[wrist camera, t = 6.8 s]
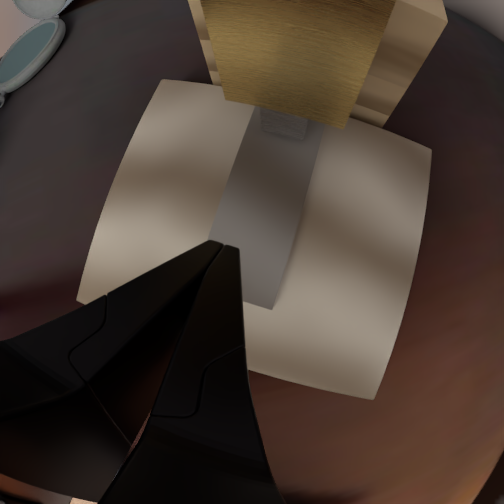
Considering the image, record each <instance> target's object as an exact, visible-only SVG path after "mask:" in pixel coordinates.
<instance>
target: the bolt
mask: <svg viewBox="0 0 504 504" xmlns="http://www.w3.org/2000/svg"><path fill="white" fill-rule="evenodd" d="M395 2H396V0H200V3H201V6H202V10H203V14H204V18H205V22H206V26H207V30H208V33H209V37H210V41H211V45H212V49H213V53H214V57H215V61H216V65H217V69H218V73H219V77H220V81H221V85H222V89H223V93H224V97H225V100H227V101H233V102H238V103H243V104H248V105H253V106H258V107H260V116H261V130H263V131H267V132H271V133H275V134H279V135H283V136H287V137H291V138H294V139H298V140H302V141H303V140H304V136H305V133H306V129H307V126H308V122H309V119H310V120H313V121H317V122H320V123H324V124H327V125H330V126H333V127H337V128H340V129H344V127H345V125H346V123H347V120H348V118H349V116H350V113H351V111H352V109H353V106H354V104H355V102H356V99H357V97H358V94H359V92H360V90H361V87H362V85H363V83H364V80H365V78H366V75H367V73H368V71H369V68H370V66H371V63H372V61H373V58H374V56H375V53H376V51H377V48H378V46H379V43H380V41H381V38H382V36H383V33H384V31H385V28H386V26H387V23H388V20H389V18H390V15H391V13H392V10H393V7H394V5H395Z"/></svg>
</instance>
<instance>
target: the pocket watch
mask: <svg viewBox="0 0 504 504" xmlns="http://www.w3.org/2000/svg"><path fill="white" fill-rule="evenodd" d="M66 1H67V0H13V2H14V4H15V5H16V7H17V8H18V9H19V10H20V11H21V12H22V13H23V14H25V15H27V16H28V17H31V18H34V19H44V20H41V21H40V22H39V23H38V24H36V25H35V26H33V27H32V28H30V29H29V30H28V31H26V32H25V33H24V34H23V35H22V36H20V37H19V38H18V39H17V40H16V42H15V43H14V44H13V45H12V46H11V47H10V48H9V50H8V51H7V52H6V53H5V55H4V56H3V58H2V59H1V61H0V93H1V95H0V108H1V107H2V105H3V104H4V100H5V98H4V95H5V94H6V93H10V92H12V91H14V90H16V89H17V88H19V87H21V86H22V85H24V84H25V83H26V82H28V81H29V80H30V79H31V78H32V77H34V76H35V75H36V74H37V73H38V72H39V71H40V70H41V69H42V68H43V67H44V66H45V64H46V63H47V62H48V61H49V60H50V58H51V57H52V56H53V54H54V53H55V52H56V50H57V49H58V47H59V45H60V44H61V42H62V40H63V38H64V35H65V31H66V28H65V23H64V22H63V21H62V20H61V19H59V15H55V14H56V13H58V12H59V11H60V10H61V9H62V7H63V6H64V4H65V2H66ZM54 15H55V16H54ZM1 103H2V104H1Z"/></svg>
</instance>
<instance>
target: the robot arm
mask: <svg viewBox="0 0 504 504" xmlns="http://www.w3.org/2000/svg"><path fill="white" fill-rule="evenodd" d="M245 347H246V343H245V327H244V311H243V295H242V278H241V260H240V249H239V248H237V247H234V246H231V245H227V244H226V245H224V244H223V243H221V242H218V241H214V240H207V241H205V242H203V243H201V244H199V245H197V246H195V247H193V248H192V249H190V250H188V251H186V252H184V253H182V254H180V255H178V256H176V257H174V258H172V259H170V260H168V261H166V262H164V263H163V264H161V265H159V266H157V267H155V268H153V269H151V270H149V271H147V272H145V273H144V274H142V275H140V276H138V277H136V278H134V279H132V280H130V281H129V282H127V283H125V284H123V285H121V286H119V287H117V288H116V289H114V290H112V291H110V292H108V293H107V295H103V296H101V297H99V298H97V299H95V300H93V301H92V302H90V303H88V304H86V305H84V306H82V307H80V308H78V309H76V310H74V311H72V312H70V313H68V314H65V315H63V316H61V317H59V318H57V319H55V320H52V321H50V322H48V323H45V324H43V325H41V326H39V327H36V328H34V329H32V330H29V331H27V332H25V333H23V334H20V335H18V336H16V337H13V338H11V339H7V340H4V341H0V504H70V502H71V500H72V498H73V497H74V498H78V499H82V500H87V501H92V502H97V503H98V504H286V502H285V500H284V498H283V497H282V495H281V493H280V491H279V489H278V487H277V485H276V483H275V481H274V478H273V476H272V473H271V470H270V467H269V464H268V461H267V457H266V454H265V450H264V446H263V442H262V438H261V434H260V430H259V426H258V422H257V417H256V413H255V409H254V405H253V400H252V395H251V389H250V384H249V376H248V367H247V356H246V348H245ZM151 409H152V410H151ZM150 411H151V413H150ZM149 413H150V417H149V419H148V421H147V424H146V426H145V429H144V431H143V433H142V435H141V437H140V440H139V441H138V443H137V445H136V446H135V448H134V449H133V451H132V452H131V454H130V455H129V457H128V458H127V460H126V461H125V463H124V464H123V466H122V467H121V469H120V470H119V468H120V466H121V464H122V462H123V460H124V459H125V457H126V455H127V453H128V451H129V449H130V448H131V446H130V445H132V444H133V442H134V440H135V438H136V436H137V434H138V433H139V431H140V429H141V427H142V425H143V423H144V422H145V420H146V418H147V416H148V414H149ZM118 470H119V472H118V473H117V471H118ZM116 473H117V475H116ZM115 475H116V476H115ZM114 477H115V478H114ZM113 479H114V480H113Z"/></svg>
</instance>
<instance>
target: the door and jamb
mask: <svg viewBox="0 0 504 504" xmlns="http://www.w3.org/2000/svg"><path fill="white" fill-rule="evenodd" d="M188 2H189V5H190V9H191V12H192V15H193V19H194V22H195V25H196V29H197V32H198V36H199V39H200V42H201V46H202V49H203V52H204V56H205V59H206V63H207V66H208V69H209V73H210V76H211V80H212V83H213V85H210V84H202V83H195V82H186V81H177V80H166V79H162V80H161V82H160V84H159V86H158V88H157V89H156V91H155V93H154V95H153V97H152V99H151V101H150V103H149V104H148V106H147V108H146V110H145V112H144V114H143V116H142V118H141V120H140V122H139V124H138V126H137V128H136V131H135V133H134V135H133V137H132V139H131V141H130V143H129V146H128V148H127V150H126V152H125V155H124V157H123V159H122V162H121V164H120V166H119V169H118V171H117V174H116V176H115V179H114V181H113V184H112V186H111V189H110V191H109V194H108V197H107V200H106V202H105V205H104V208H103V211H102V213H101V216H100V219H99V222H98V225H97V228H96V231H95V234H94V238H93V241H92V244H91V247H90V251H89V254H88V258H87V261H86V265H85V268H84V272H83V276H82V280H81V284H80V288H79V292H78V296H77V301H79V302H81V303H83V304H85V305H86V304H88V303H90V302H92V301H93V300H95V299H97V298H99V297H101V296H103V295H107V293H108V292H110V291H112V290H114V289H116V288H117V287H119V286H121V285H123V284H125V283H127V282H129V281H130V280H132V279H134V278H136V277H138V276H140V275H142V274H144V273H145V272H147V271H149V270H151V269H153V268H155V267H157V266H159V265H161V264H163V263H164V262H166V261H168V260H170V259H172V258H174V257H176V256H178V255H180V254H182V253H184V252H186V251H188V250H190V249H192V248H193V247H195V246H197V245H199V244H201V243H203V242H205V241H207V240H214V241H218V242H221V243H223V244H224V245H226V244H227V245H231V246H234V247H237V248H239V249H240V260H241V278H242V295H243V311H244V327H245V343H246V347H245V348H246V356H247V367H248V370H252V371H255V372H258V373H262V374H265V375H269V376H272V377H276V378H279V379H283V380H286V381H290V382H294V383H298V384H302V385H306V386H310V387H314V388H318V389H322V390H327V391H331V392H336V393H340V394H345V395H350V396H355V397H360V398H365V399H371V400H374V398H375V395H376V393H377V390H378V388H379V385H380V383H381V380H382V378H383V375H384V372H385V370H386V367H387V364H388V361H389V358H390V355H391V353H392V350H393V347H394V343H395V340H396V337H397V334H398V331H399V328H400V324H401V321H402V317H403V314H404V310H405V307H406V303H407V299H408V296H409V292H410V288H411V284H412V279H413V275H414V271H415V266H416V262H417V257H418V252H419V247H420V241H421V236H422V230H423V224H424V218H425V211H426V204H427V196H428V188H429V178H430V168H431V155H432V150H431V149H429V148H427V147H425V146H423V145H420V144H418V143H416V142H413V141H411V140H409V139H406V138H404V137H402V136H399V135H397V134H394V133H392V132H389V131H386V130H384V129H382V127H383V126H384V124H385V123H386V121H387V119H388V118H389V116H390V115H391V113H392V112H393V110H394V109H395V107H396V106H397V104H398V102H399V101H400V99H401V98H402V96H403V95H404V93H405V92H406V90H407V88H408V87H409V85H410V84H411V82H412V80H413V79H414V77H415V76H416V74H417V72H418V71H419V69H420V68H421V66H422V64H423V63H424V61H425V59H426V58H427V56H428V55H429V53H430V51H431V50H432V48H433V46H434V45H435V43H436V41H437V40H438V38H439V36H440V35H441V33H442V31H443V29H444V28H445V26H446V24H447V23H448V20H447V16H446V12H445V8H444V4H443V1H442V0H396V2H395V5H394V7H393V10H392V13H391V15H390V18H389V20H388V23H387V26H386V28H385V31H384V33H383V36H382V38H381V41H380V43H379V46H378V48H377V51H376V53H375V56H374V58H373V61H372V63H371V66H370V68H369V71H368V73H367V75H366V78H365V80H364V83H363V85H362V87H361V90H360V92H359V94H358V97H357V99H356V102H355V104H354V106H353V109H352V111H351V113H350V116H349V118H348V120H347V123H346V125H345V127H344V129H340V128H337V127H333V126H330V125H327V124H324V123H320V122H317V121H313V120H310V119H309V122H308V126H307V129H306V133H305V136H304V140H303V141H302V140H298V139H294V138H291V137H287V136H283V135H279V134H275V133H271V132H267V131H263V130H261V116H260V107H258V106H253V105H248V104H243V103H238V102H233V101H227V100H225V97H224V93H223V89H222V85H221V81H220V77H219V73H218V69H217V65H216V61H215V57H214V53H213V49H212V45H211V41H210V37H209V33H208V30H207V26H206V22H205V18H204V14H203V10H202V6H201V3H200V0H188Z"/></svg>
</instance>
